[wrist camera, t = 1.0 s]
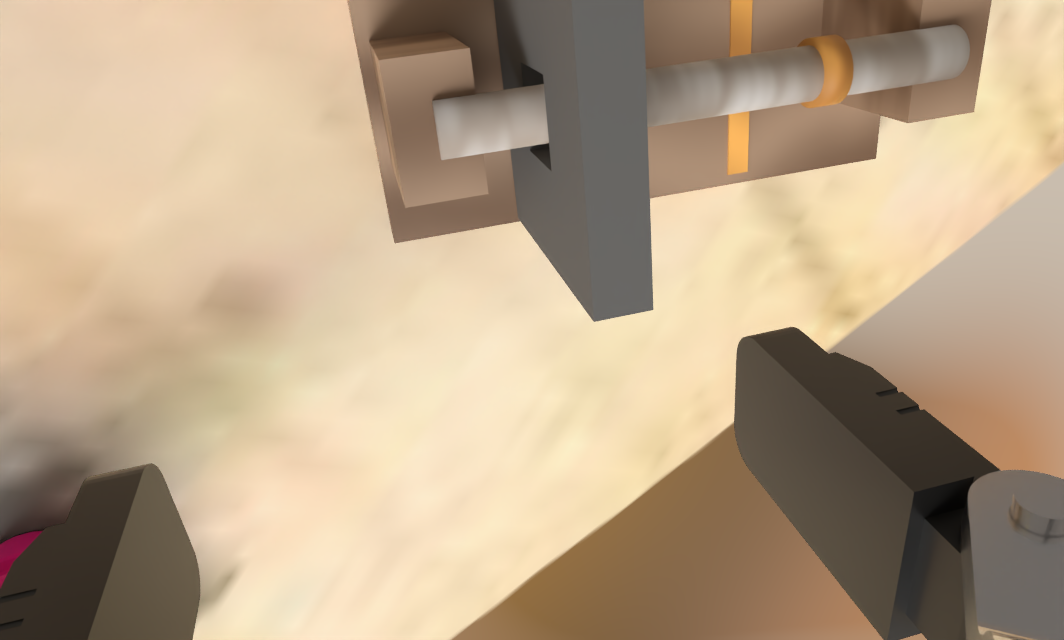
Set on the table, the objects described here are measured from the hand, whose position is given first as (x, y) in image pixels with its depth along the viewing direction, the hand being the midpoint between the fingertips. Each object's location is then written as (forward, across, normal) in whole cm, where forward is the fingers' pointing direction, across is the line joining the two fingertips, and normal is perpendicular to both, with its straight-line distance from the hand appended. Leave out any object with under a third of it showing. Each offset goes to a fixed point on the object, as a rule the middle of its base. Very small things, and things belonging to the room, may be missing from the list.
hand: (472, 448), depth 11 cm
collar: (+23, -6, 0) cm, 24 cm away
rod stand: (+26, -12, 0) cm, 28 cm away
